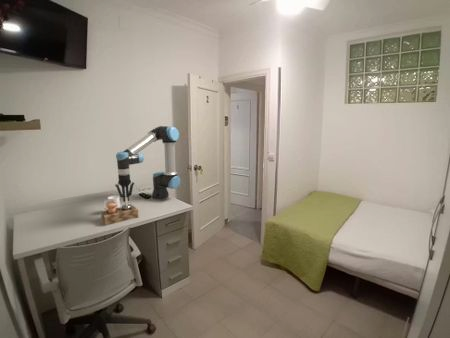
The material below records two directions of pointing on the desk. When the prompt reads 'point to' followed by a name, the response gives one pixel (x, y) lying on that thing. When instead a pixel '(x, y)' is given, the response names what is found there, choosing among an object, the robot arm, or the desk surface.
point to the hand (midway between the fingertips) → (126, 205)
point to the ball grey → (126, 207)
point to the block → (119, 215)
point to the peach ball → (111, 207)
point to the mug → (113, 199)
